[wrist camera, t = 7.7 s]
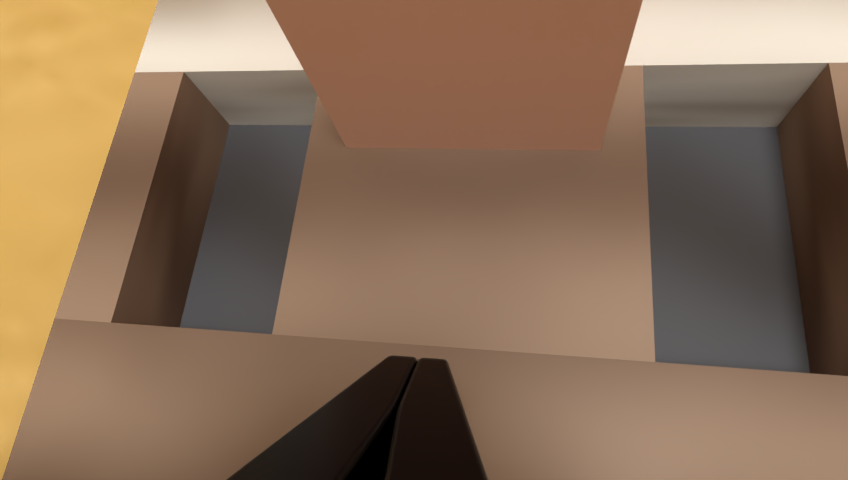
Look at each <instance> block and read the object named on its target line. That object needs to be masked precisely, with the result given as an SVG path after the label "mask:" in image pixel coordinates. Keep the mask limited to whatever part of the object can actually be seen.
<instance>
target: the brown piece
mask: <svg viewBox="0 0 848 480" xmlns="http://www.w3.org/2000/svg"><path fill="white" fill-rule="evenodd" d="M390 355H397V356H410V357H415V358H416V359H417V360H419V359H420V358H437V359H445V360H447V362H448V363H449V366H450V369H451V372H452V375H453V378H454V381H455V384H456V387H457V390H458V393H459V396H460V399H461V401H462V404H463V407H464V410H465V413H466V416H467V419H468V422H469V425H470V428H471V431H472V434H473V437H474V440H475V443H476V445H477V448H478V451H479V454H480V457H481V460H482V463H483V466H484V469H485V472H486V475H487V478H488V480H848V0H643V1H642V5H641V8H640V12H639V15H638V19H637V22H636V26H635V29H634V33H633V37H632V40H631V44H630V47H629V51H628V54H627V58H626V61H625V65H624V68H623V72H622V75H621V79H620V82H619V86H618V89H617V93H616V96H615V100H614V103H613V107H612V110H611V114H610V117H609V121H608V124H607V128H606V132H605V135H604V139H603V142H602V146H601V149H600V151H591V150H505V149H418V148H346V146H345V144H344V142H343V141H342V139H341V137H340V135H339V133H338V131H337V130H336V128H335V126H334V124H333V122H332V120H331V119H330V117H329V115H328V113H327V111H326V110H325V108H324V106H323V104H322V102H321V100H320V99H319V97H318V95H317V93H316V91H315V89H314V88H313V86H312V84H311V82H310V80H309V78H308V77H307V75H306V73H305V71H304V69H303V68H302V66H301V64H300V62H299V60H298V58H297V57H296V55H295V53H294V51H293V49H292V47H291V46H290V44H289V42H288V40H287V38H286V37H285V35H284V33H283V31H282V29H281V27H280V26H279V24H278V22H277V20H276V18H275V16H274V15H273V13H272V11H271V9H270V7H269V6H268V4H267V2H266V0H158V3H157V6H156V9H155V12H154V15H153V18H152V22H151V25H150V28H149V31H148V34H147V37H146V40H145V43H144V46H143V49H142V52H141V55H140V58H139V61H138V64H137V68H136V71H135V74H134V77H133V80H132V83H131V86H130V89H129V92H128V95H127V98H126V101H125V104H124V107H123V110H122V114H121V117H120V120H119V123H118V126H117V129H116V132H115V135H114V138H113V141H112V144H111V147H110V150H109V153H108V157H107V160H106V163H105V166H104V169H103V172H102V175H101V178H100V181H99V184H98V187H97V190H96V193H95V196H94V199H93V203H92V206H91V209H90V212H89V215H88V218H87V221H86V224H85V227H84V230H83V233H82V236H81V239H80V242H79V246H78V249H77V252H76V255H75V258H74V261H73V264H72V267H71V270H70V273H69V276H68V279H67V282H66V285H65V288H64V292H63V295H62V298H61V301H60V304H59V307H58V310H57V313H56V316H55V319H54V322H53V325H52V328H51V331H50V334H49V338H48V341H47V344H46V347H45V350H44V353H43V356H42V359H41V362H40V365H39V368H38V371H37V374H36V377H35V381H34V384H33V387H32V390H31V393H30V396H29V399H28V402H27V405H26V408H25V411H24V414H23V417H22V420H21V423H20V427H19V430H18V433H17V436H16V439H15V442H14V445H13V448H12V451H11V454H10V457H9V460H8V463H7V466H6V469H5V473H4V476H3V479H2V480H226V479H227V478H229V477H230V476H231V475H233V474H234V473H235V472H237V471H238V470H239V469H241V468H242V467H243V466H245V465H246V464H247V463H248V462H250V461H251V460H252V459H254V458H255V457H256V456H258V455H259V454H260V453H262V452H263V451H264V450H266V449H267V448H268V447H269V446H271V445H272V444H273V443H275V442H276V441H277V440H279V439H280V438H281V437H283V436H284V435H285V434H287V433H288V432H289V431H291V430H292V429H293V428H294V427H296V426H297V425H298V424H300V423H301V422H302V421H304V420H305V419H306V418H308V417H309V416H310V415H312V414H313V413H314V412H315V411H317V410H318V409H319V408H321V407H322V406H323V405H325V404H326V403H327V402H329V401H330V400H331V399H333V398H334V397H335V396H336V395H338V394H339V393H340V392H342V391H343V390H344V389H346V388H347V387H348V386H350V385H351V384H352V383H354V382H355V381H356V380H358V379H359V378H360V377H361V376H363V375H364V374H365V373H367V372H368V371H369V370H371V369H372V368H373V367H375V366H376V365H377V364H379V363H380V362H381V361H382V360H384V359H385V358H386V357H388V356H390Z"/></svg>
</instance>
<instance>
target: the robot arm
mask: <svg viewBox="0 0 848 480" xmlns="http://www.w3.org/2000/svg"><path fill="white" fill-rule="evenodd" d="M226 480H488V478H487V475H486V472H485V469H484V466H483V463H482V460H481V457H480V454H479V451H478V448H477V445H476V443H475V440H474V437H473V434H472V431H471V428H470V425H469V422H468V419H467V416H466V413H465V410H464V407H463V404H462V401H461V399H460V396H459V393H458V390H457V387H456V384H455V381H454V378H453V375H452V372H451V369H450V366H449V363H448V362H447V360H445V359H437V358H420V359H419V360H417V359H416V358H415V357H410V356H397V355H390V356H388V357H386V358H385V359H384V360H382V361H381V362H380V363H379V364H377V365H376V366H375V367H373V368H372V369H371V370H369V371H368V372H367V373H365V374H364V375H363V376H361V377H360V378H359V379H358V380H356V381H355V382H354V383H352V384H351V385H350V386H348V387H347V388H346V389H344V390H343V391H342V392H340V393H339V394H338V395H336V396H335V397H334V398H333V399H331V400H330V401H329V402H327V403H326V404H325V405H323V406H322V407H321V408H319V409H318V410H317V411H315V412H314V413H313V414H312V415H310V416H309V417H308V418H306V419H305V420H304V421H302V422H301V423H300V424H298V425H297V426H296V427H294V428H293V429H292V430H291V431H289V432H288V433H287V434H285V435H284V436H283V437H281V438H280V439H279V440H277V441H276V442H275V443H273V444H272V445H271V446H269V447H268V448H267V449H266V450H264V451H263V452H262V453H260V454H259V455H258V456H256V457H255V458H254V459H252V460H251V461H250V462H248V463H247V464H246V465H245V466H243V467H242V468H241V469H239V470H238V471H237V472H235V473H234V474H233V475H231V476H230V477H229V478H227V479H226Z"/></svg>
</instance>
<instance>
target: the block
mask: <svg viewBox="0 0 848 480" xmlns="http://www.w3.org/2000/svg"><path fill="white" fill-rule="evenodd" d="M642 1H643V0H266V2H267V4H268V6H269V7H270V9H271V11H272V13H273V15H274V16H275V18H276V20H277V22H278V24H279V26H280V27H281V29H282V31H283V33H284V35H285V37H286V38H287V40H288V42H289V44H290V46H291V47H292V49H293V51H294V53H295V55H296V57H297V58H298V60H299V62H300V64H301V66H302V68H303V69H304V71H305V73H306V75H307V77H308V78H309V80H310V82H311V84H312V86H313V88H314V89H315V91H316V93H317V95H318V97H319V99H320V100H321V102H322V104H323V106H324V108H325V110H326V111H327V113H328V115H329V117H330V119H331V120H332V122H333V124H334V126H335V128H336V130H337V131H338V133H339V135H340V137H341V139H342V141H343V142H344V144H345V146H346V148H418V149H505V150H591V151H600V149H601V146H602V142H603V139H604V135H605V132H606V128H607V124H608V121H609V117H610V114H611V110H612V107H613V103H614V100H615V96H616V93H617V89H618V86H619V82H620V79H621V75H622V72H623V68H624V65H625V61H626V58H627V54H628V51H629V47H630V44H631V40H632V37H633V33H634V29H635V26H636V22H637V19H638V15H639V12H640V8H641V5H642Z"/></svg>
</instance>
